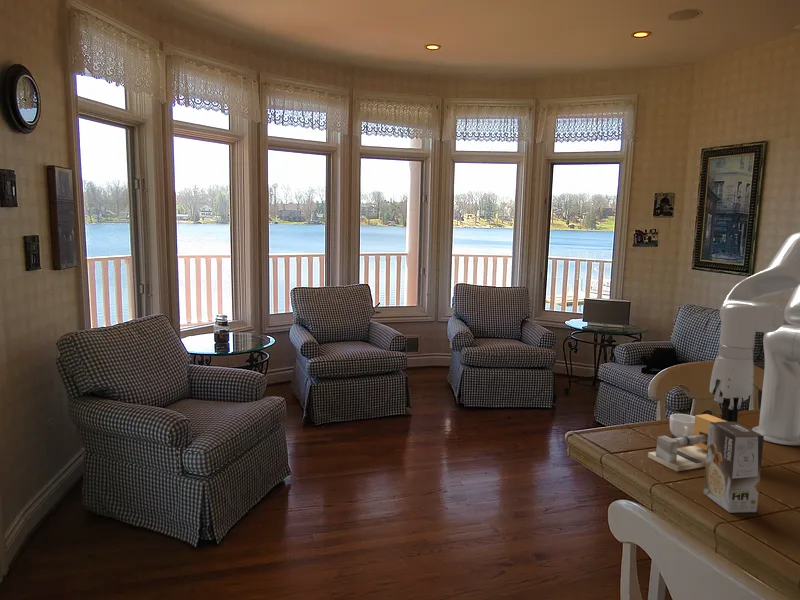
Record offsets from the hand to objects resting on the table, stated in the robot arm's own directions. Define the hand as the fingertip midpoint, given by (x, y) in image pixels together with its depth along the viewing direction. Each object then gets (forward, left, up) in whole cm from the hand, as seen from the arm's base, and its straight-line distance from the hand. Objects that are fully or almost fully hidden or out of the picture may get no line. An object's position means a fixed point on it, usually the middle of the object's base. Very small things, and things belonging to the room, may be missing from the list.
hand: (728, 423), depth 145 cm
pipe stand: (+11, 0, -8) cm, 14 cm away
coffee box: (+23, +20, -8) cm, 32 cm away
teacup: (+1, -12, -8) cm, 15 cm away
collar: (+6, 0, -6) cm, 9 cm away
